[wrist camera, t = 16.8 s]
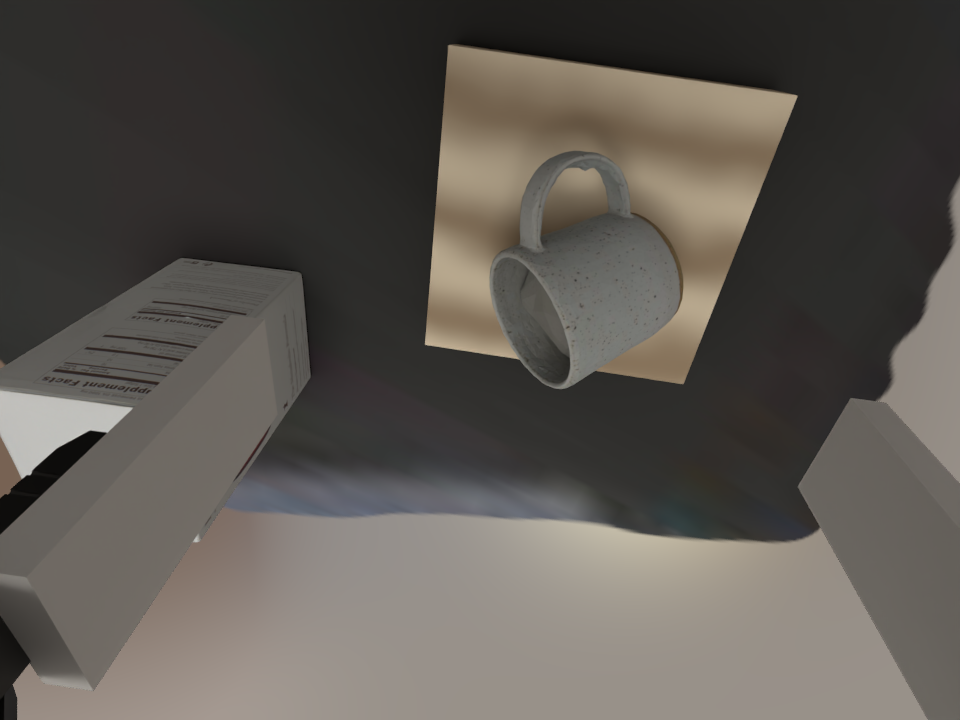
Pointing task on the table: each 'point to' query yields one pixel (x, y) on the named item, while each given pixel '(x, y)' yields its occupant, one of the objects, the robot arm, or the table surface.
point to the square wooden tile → (593, 181)
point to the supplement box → (148, 355)
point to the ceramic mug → (583, 280)
